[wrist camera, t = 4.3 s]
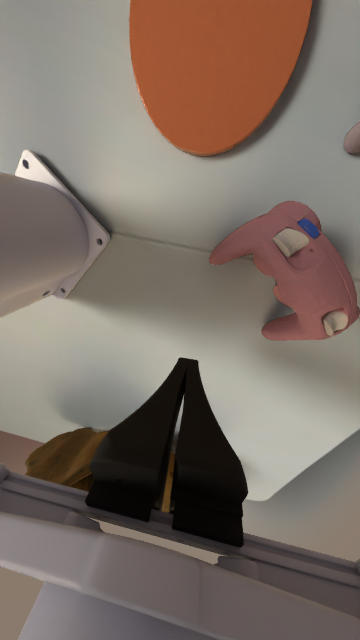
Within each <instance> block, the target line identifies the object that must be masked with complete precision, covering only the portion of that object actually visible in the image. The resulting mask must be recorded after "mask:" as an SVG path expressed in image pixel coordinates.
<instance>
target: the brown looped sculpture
mask: <svg viewBox="0 0 360 640" xmlns="http://www.w3.org/2000/svg"><path fill="white" fill-rule="evenodd" d="M108 432H109V431H105V432H100V433H96V432H94V431H92V430H91V429H90V428H82V429H77V430H75V431H73V432H67V433H64V434H60V435H58V436H56V437H54V438H53V439H51V440H50V441H48V442H47V443H45V444H44V445H43V446H41V447H39V448H37V449H36V450H35V451H34V452H32V453H31V454H30V455H29V457H28V459H27V460H26V462H25V464H26V466H27V473H26V474H25V475H26V476H30V477H34V478H38V479H42V480H45V481H49V482H53V483H57V484H61V485H64V486H68V487H72V488H76V489H80V490H83V491H87V492H89V490H90V488H91V486H92V484H93V482H94V480H95V479H94V477H93V475H92V473H91V470H90V466H89V463H90V461H91V459H92V457H93V455H94V453H95V451H96V449H97V448H98V446H99V444H100V443H101V441H102V440H103V438H104V437H105V435H106V434H107V433H108ZM174 460H175V453H174V452H172V451H171V456H170V462H169V468H168V474H167V480H166V486H165V492H164V499H163V505H162V510H161V511H163V512H167V513H169V506H170V494H171V487H172V481H173V471H174Z"/></svg>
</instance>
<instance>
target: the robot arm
mask: <svg viewBox="0 0 360 640" xmlns="http://www.w3.org/2000/svg"><path fill="white" fill-rule="evenodd" d="M28 163H29V167H28V165H27V164H28ZM99 239H101V240H102V244H100V242H99ZM109 242H110V235H109V233H108V232H107V231H106V230H105V229H104V228H103V227H102V226H101V225H100V224H99V222H98V221H97V220H96V219H95V218H94V217H93V216H92V215H91V214H90V213H89V212H88V210H87V209H86V208H85V207H84V206H83V205H82V204H81V203H80V202H79V201H78V200H77V198H76V197H75V196H74V195H73V194H72V193H71V192H70V191H69V190H68V189H67V188H66V186H65V185H64V184H63V183H62V182H61V181H60V180H59V179H58V178H57V177H56V176H55V174H54V173H53V172H52V171H51V170H50V169H49V168H48V167H47V166H46V165H45V164H44V162H43V161H42V160H41V159H40V158H39V157H38V156H37V155H36V154H35V153H34V152H33V151H31V150H28V149H25V150H24V151H23V153H22V155H21V158H20V161H19V164H18V166H17V169H16V172H15V175H9V174H5V173H1V172H0V318H1V317H3V316H5V315H7V314H10V313H12V312H14V311H16V310H19V309H21V308H23V307H25V306H28V305H30V304H32V303H34V302H37V301H39V300H41V299H44V298H46V297H48V296H50V295H53V296H55V297H56V298H57V299H58V300H64V299H65V298H66V297H67V296H68V294H69V293H70V292H71V291H72V289H73V288H74V287H75V285H76V284H77V283H78V282H79V280H80V279H81V278H82V276H83V275H84V274H85V273H86V271H87V270H88V269H89V267H90V266H91V265H92V264H93V262H94V261H95V260H96V259H97V257H98V256H99V255H100V253H101V252H102V251H103V250H104V248H105V247H106V246H107V244H108V243H109ZM64 289H65V290H64ZM183 396H184V405H183V413H182V419H181V425H180V431H179V436H178V442H177V448H176V453H175V460H174V471H173V481H172V487H171V494H170V506H169V513H167V512H163V511H161V510H162V505H163V499H164V492H165V486H166V480H167V474H168V468H169V462H170V456H171V450H172V444H173V438H174V433H175V427H176V423H177V419H178V415H179V411H180V407H181V403H182V399H183ZM89 466H90V470H91V473H92V475H93V477H94V479H95V480H94V482H93V484H92V486H91V488H90V490H89V492H87V491H83V490H80V489H76V488H72V487H68V486H64V485H61V484H57V483H53V482H49V481H45V480H42V479H38V478H34V477H30V476H26V475H23V474H19V473H15V472H11V471H10V470H9V468H8V467H7V466H6V465H4V464H2V463H0V566H1V567H3V568H6V569H9V570H12V571H15V572H18V573H21V574H24V575H27V576H30V577H33V578H36V579H39V580H41V581H44V584H43V586H42V589H41V591H40V593H39V595H38V597H37V599H36V601H35V604H34V606H33V608H32V610H31V612H30V614H29V616H28V618H27V621H26V623H25V625H24V627H23V629H22V631H21V633H20V636H19V637H18V640H360V559H358V560H356V562H353V561H349V560H345V559H342V558H338V557H334V556H330V555H326V554H322V553H319V552H315V551H311V550H307V549H304V548H300V547H296V546H292V545H288V544H284V543H281V542H277V541H273V540H270V539H266V538H262V537H258V536H254V535H250V534H246V533H243V528H242V517H243V510H242V502H243V501H244V499H245V498H246V496H247V494H248V488H247V482H246V478H245V474H244V471H243V468H242V465H241V462H240V460H239V458H238V457H237V455H236V453H235V452H234V450H233V449H232V447H231V445H230V444H229V442H228V440H227V439H226V437H225V435H224V434H223V432H222V430H221V428H220V426H219V424H218V422H217V420H216V418H215V416H214V414H213V412H212V410H211V407H210V405H209V402H208V400H207V397H206V394H205V391H204V388H203V385H202V381H201V377H200V373H199V366H198V361H197V360H193V359H187V358H179V359H178V361H177V363H176V365H175V367H174V368H173V370H172V371H171V373H170V374H169V376H168V377H167V378H166V380H165V381H164V382H163V384H162V385H161V386H160V387H159V388H158V390H157V391H156V392H155V393H154V394H153V395H152V396H151V397H150V398H149V399H148V400H147V401H146V402H145V403H144V404H143V405H142V406H141V407H140V408H139V409H137V410H136V411H135V412H134V413H133V414H131V415H130V416H129V417H128V418H127V419H125V420H124V421H123V422H121V423H120V424H118V425H117V426H116V427H114V428H113V429H111V430H110V431H109V432H108V433H107V434H106V435H105V437H104V438H103V440H102V441H101V443H100V444H99V446H98V448H97V449H96V451H95V453H94V455H93V457H92V459H91V461H90V463H89ZM85 516H86V517H85ZM88 517H89V518H88ZM90 518H93V519H97V520H100V521H104V522H108V523H111V524H114V525H118V526H122V527H125V528H129V529H133V530H136V531H139V532H143V533H147V534H150V535H154V536H157V537H161V538H164V539H168V540H171V541H175V542H178V543H182V544H185V545H189V546H193V547H196V548H200V549H203V550H207V551H211V552H214V553H218V554H221V555H225V556H228V557H225V556H219V557H218V563H217V564H214V565H212V564H210V563H207V562H205V561H202V560H199V559H197V558H194V557H191V556H188V555H185V554H182V553H180V552H177V551H174V550H171V549H167V548H164V547H161V546H158V545H154V544H151V543H147V542H144V541H140V540H136V539H132V538H128V537H124V536H120V535H115V534H110V533H105V532H103V531H102V530H101V528H100V524H99V522H96V521H94V520H92V519H90Z"/></svg>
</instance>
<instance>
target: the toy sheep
mask: <svg viewBox="0 0 360 640" xmlns="http://www.w3.org/2000/svg"><path fill="white" fill-rule="evenodd" d="M344 148H345V150H346V151H347V152H349V153H357V152H360V121H359V122H358V123H357V124H356V125H355V126H354V127H353V128H352V129H351V130H350V131H349V132H348V134H347V135H346V137H345V140H344Z"/></svg>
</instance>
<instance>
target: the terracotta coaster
mask: <svg viewBox="0 0 360 640" xmlns="http://www.w3.org/2000/svg"><path fill="white" fill-rule="evenodd" d="M312 1H313V0H131V2H130V19H129V26H130V49H131V59H132V65H133V71H134V76H135V80H136V84H137V87H138V91H139V93H140V96H141V99H142V102H143V104H144V106H145V108H146V111H147V113H148V115H149V116H150V118H151V120H152V121H153V123H154V125H155V126H156V128H157V129H158V130H159V132H160V133H161V134H162V136H163V137H164V138H165V139H166V140H167V141H168V142H170V143H171V144H172V145H173V146H175V147H176V148H178V149H180V150H182V151H184V152H186V153H189V154H192V155H198V156H211V155H216V154H220V153H223V152H225V151H228V150H230V149H232V148H234V147H235V146H237V145H239V144H240V143H242V142H243V141H244V140H246V139H247V138H248V137H249V136H250V135H251V134H252V133H254V132H255V131H256V130H257V129H258V128H259V126H260V125H261V124H262V123H263V122H264V120H265V119H266V118H267V117H268V115H269V114H270V112H271V111H272V110H273V108H274V107H275V105H276V103H277V102H278V100H279V98H280V96H281V95H282V93H283V91H284V89H285V87H286V86H287V83H288V81H289V79H290V77H291V75H292V73H293V71H294V68H295V66H296V63H297V60H298V58H299V55H300V52H301V49H302V46H303V42H304V39H305V36H306V32H307V28H308V23H309V18H310V14H311V9H312Z"/></svg>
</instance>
